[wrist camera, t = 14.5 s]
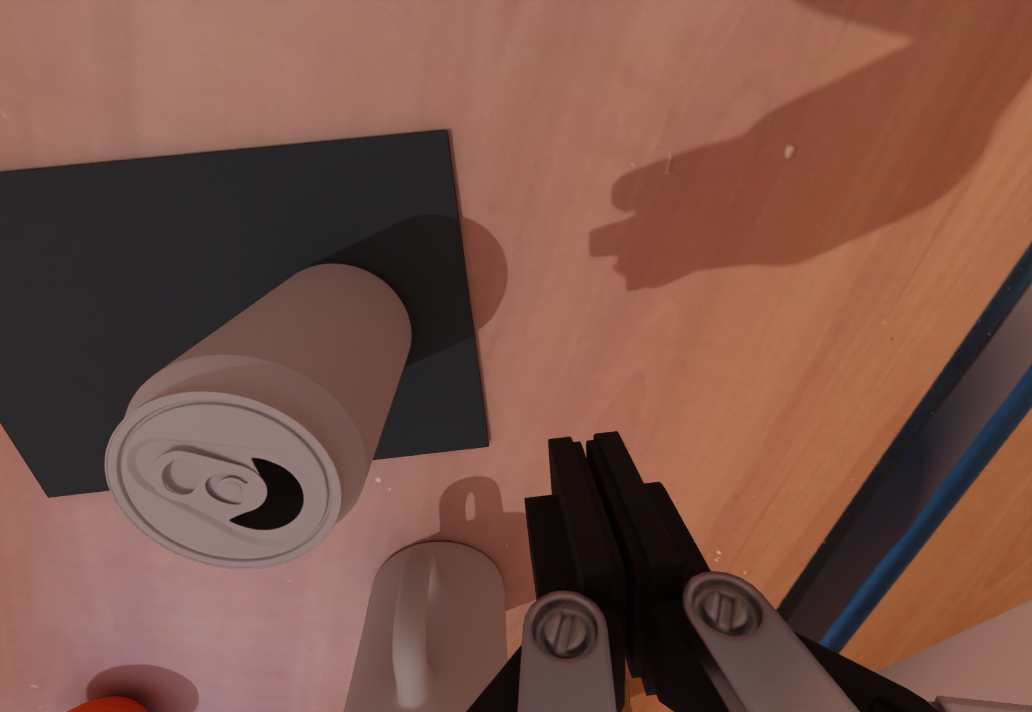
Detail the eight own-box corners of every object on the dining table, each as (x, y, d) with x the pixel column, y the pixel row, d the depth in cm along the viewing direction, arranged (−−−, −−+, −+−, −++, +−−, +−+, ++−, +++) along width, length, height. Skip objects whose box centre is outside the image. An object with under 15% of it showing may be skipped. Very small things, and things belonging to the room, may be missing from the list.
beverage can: (385, 401, 25) (313, 606, 14) (260, 353, 23) (65, 542, 12) (434, 295, 23) (393, 439, 12) (299, 234, 21) (106, 335, 10)
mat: (447, 130, 20) (446, 129, 20) (488, 442, 27) (489, 447, 26) (-141, 185, 19) (-153, 186, 19) (53, 493, 26) (47, 498, 26)
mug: (507, 625, 33) (520, 833, 23) (384, 637, 33) (343, 855, 23) (496, 489, 28) (506, 680, 18) (351, 502, 28) (279, 705, 18)
